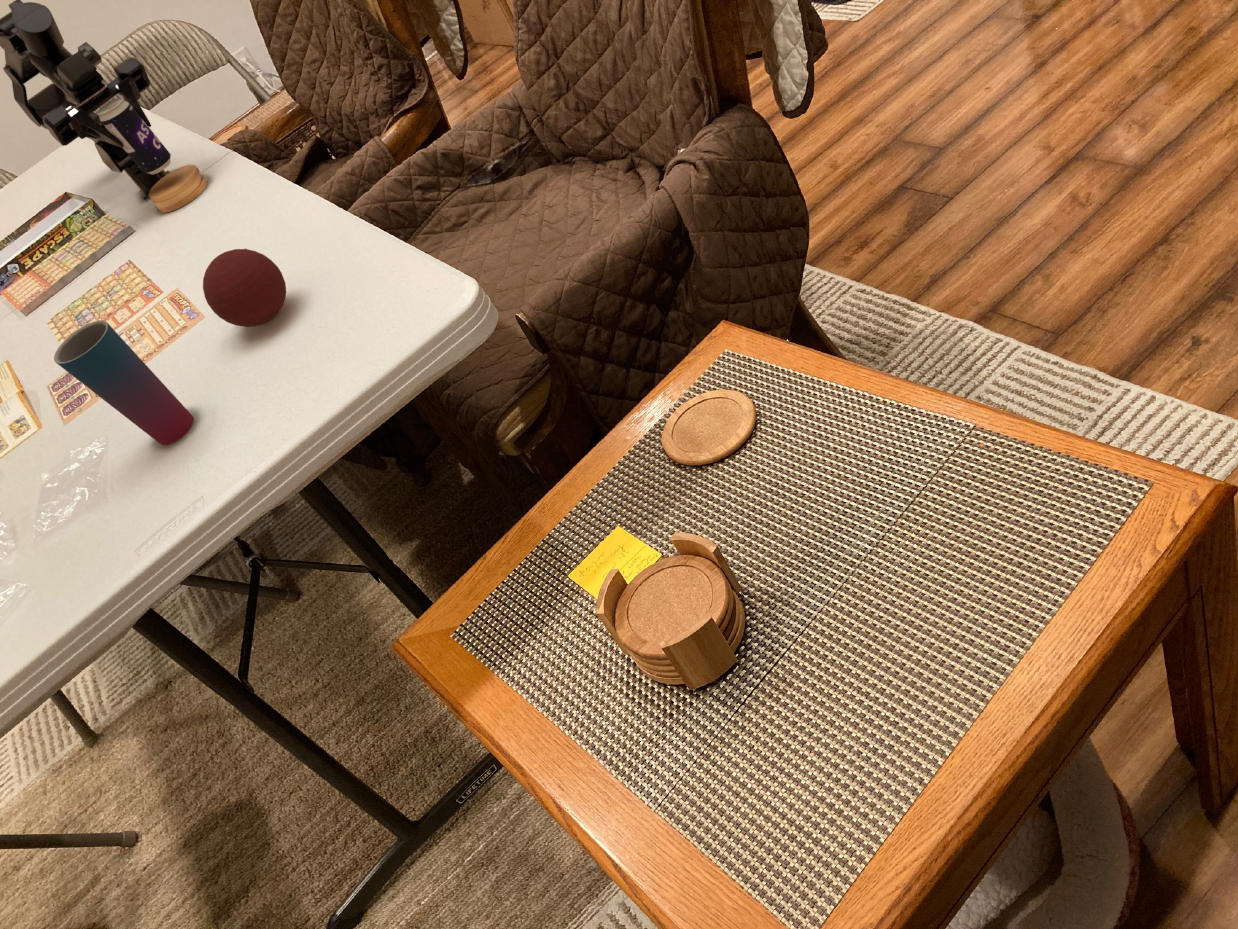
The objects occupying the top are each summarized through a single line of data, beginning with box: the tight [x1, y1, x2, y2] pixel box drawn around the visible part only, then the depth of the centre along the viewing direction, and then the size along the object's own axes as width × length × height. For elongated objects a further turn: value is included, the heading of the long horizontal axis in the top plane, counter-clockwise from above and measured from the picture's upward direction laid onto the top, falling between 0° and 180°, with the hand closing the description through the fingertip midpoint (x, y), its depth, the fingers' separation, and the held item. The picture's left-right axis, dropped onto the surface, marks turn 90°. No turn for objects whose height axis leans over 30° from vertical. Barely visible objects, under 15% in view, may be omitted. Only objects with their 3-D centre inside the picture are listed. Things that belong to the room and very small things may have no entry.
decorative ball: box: [202, 248, 287, 328], centre depth 113 cm, size 10×10×10 cm
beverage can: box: [96, 96, 172, 174], centre depth 150 cm, size 6×6×12 cm
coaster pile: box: [149, 164, 208, 214], centre depth 157 cm, size 10×10×3 cm
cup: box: [53, 319, 195, 446], centre depth 101 cm, size 7×7×15 cm
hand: (136, 135), depth 148 cm, fingers closed on beverage can, 5 cm apart
